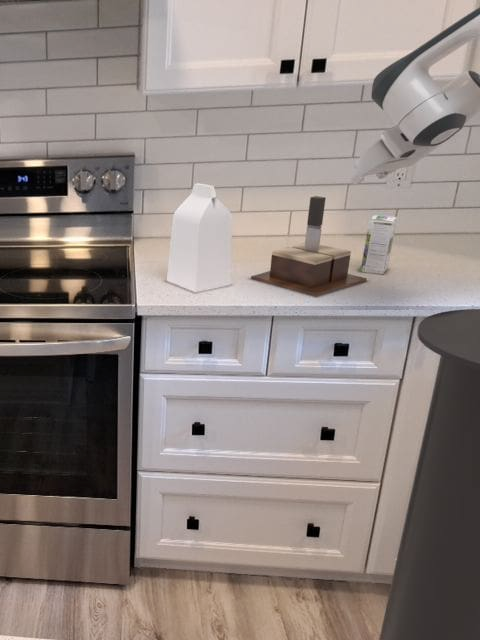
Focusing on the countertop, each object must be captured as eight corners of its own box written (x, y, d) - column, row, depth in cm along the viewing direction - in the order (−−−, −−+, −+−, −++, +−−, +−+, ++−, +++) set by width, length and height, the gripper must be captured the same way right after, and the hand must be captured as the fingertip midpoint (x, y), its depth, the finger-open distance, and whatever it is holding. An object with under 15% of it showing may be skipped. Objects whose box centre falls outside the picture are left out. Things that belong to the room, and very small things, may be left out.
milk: (166, 281, 188) (170, 184, 177) (200, 274, 192) (206, 179, 182) (195, 293, 178) (201, 191, 167) (230, 285, 182) (238, 185, 171)
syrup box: (364, 266, 191) (372, 214, 185) (388, 269, 187) (397, 216, 182) (360, 272, 187) (368, 218, 181) (384, 275, 183) (393, 220, 177)
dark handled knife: (320, 255, 178) (327, 197, 173) (314, 257, 177) (322, 198, 172) (306, 252, 182) (313, 195, 176) (301, 254, 181) (308, 196, 175)
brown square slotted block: (366, 281, 179) (371, 251, 176) (315, 297, 170) (320, 266, 167) (299, 266, 195) (303, 238, 192) (250, 279, 186) (253, 250, 183)
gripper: (434, 121, 156) (385, 162, 167) (380, 131, 146) (332, 174, 158) (451, 143, 154) (400, 183, 166) (397, 154, 145) (347, 196, 156)
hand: (367, 179), depth 162 cm, fingers open, 8 cm apart
